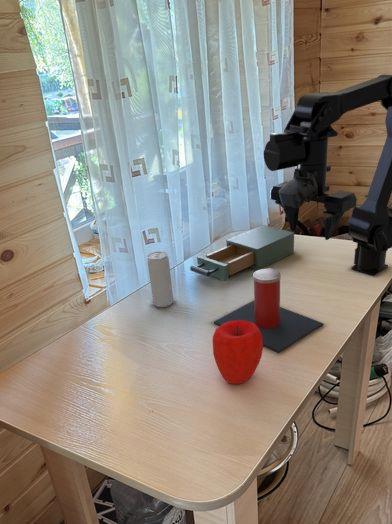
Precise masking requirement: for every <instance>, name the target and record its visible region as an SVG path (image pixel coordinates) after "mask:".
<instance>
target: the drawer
mask: <svg viewBox="0 0 392 524" xmlns="http://www.w3.org/2000/svg"><path fill="white" fill-rule="evenodd" d="M196 260H197V261H196V263H197V265H191V266H190V267H189V270H190V271H191V272H194V273H196V274H199V275H201V276H204V277H207V278H209V277H210V276H212V277H214V278H217V279H219V280H223V281H228V280H229V276H232V275H234V274H236V273H238V272H240V271H243V270H245V269H247V268H250V267H249V266H251V265H253V264H255V251H252V250H249V249H245V248H242V247H239V246H235V245H232V244H231V245H229V246H227V245H226V246H224V247H222V248H219V249H217V250H215V251H212V252H210V253H207V254H206V255H205V256H202V255H198V256H197V257H196Z"/></svg>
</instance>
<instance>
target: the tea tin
mask: <svg viewBox="0 0 392 524" xmlns="http://www.w3.org/2000/svg"><path fill="white" fill-rule="evenodd" d="M252 277H253V301H254V307H255V324H256V325H257V326H258V327H260V328H274V327H276V326H278V325H279V324H280V307H281V277H282V274H281V272H280V271H279V270H277V269H275V268H260V269H258V270H255V272H253V274H252Z"/></svg>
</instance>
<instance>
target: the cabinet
mask: <svg viewBox="0 0 392 524" xmlns="http://www.w3.org/2000/svg"><path fill="white" fill-rule="evenodd" d="M225 242H226V247H227V246H229V245H231V244H232V245H235V246H239V247H242V248H245V249H249V250H252V251H255V264H253V265H251V266H249V267H248V268H251V269H254V270H256V271H258V270H261V269H263V268H264V267H266V266H269V265H270V264H273V263H275V262H277V261H278V260H281V259H284V258H285V257H287V256H289V255H291V254H293V253H295V232H294V231H289V230H285V229H280V228H277V227H273V226H271V225H270V226H269V225H266V224H262V225H259V226H257V227H254V228H252V229H250V230H246V231H244V232H242V233H240V234H238V235H235V236H233V237H230V238H228V239H226V240H225Z"/></svg>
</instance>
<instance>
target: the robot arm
mask: <svg viewBox="0 0 392 524" xmlns="http://www.w3.org/2000/svg"><path fill="white" fill-rule="evenodd" d="M376 102H379V103H380V106H382V108H383V109H384V110H385V111H386V114H385V120H384V124H385V130H386V139H385V142H384V143H383V144H384V145H383V148H382V150H381V154H380V157H379V159H378V162H377V166H376V168H375V171H374V174H373V177H372V181H371V183H370V187H369V189H368V192H367V196H366V198H365V201H364V202H362V204H361V205H360V206H357V195H356V194H355V192H350V191H346V190H345V191H344V190H338V191H336V192H333V193H330V194H329V193H327V192H329V191H330V187H331V186H330V185H327V174H328V172H331V168H332V166H331V165H329V164H328V154H329V138H334V137H335V138H336V137H337V136H338V135H339V133H338V131H337V130H335V129H334V128H333V126H332V125H333V124H334V123H337V122H338V121H340V119H341V118H342V117H343V115H345V114H347V113H349V112H351V111H354V110H357V109H360V108H363V107H366V106H367V105H371V104H374V103H376ZM263 161H264V165H265V166H266V168H267V169H268V170H269V171H271V172H276V171H280V170H285V169H290V168H294V167H297V168H294V171H293V177H292V179H291V180H287V181H283V182H281V183H278V184H275V185H273V186H272V187H271V189H270V191H269V193H270V194H269V196H270V198H269V199H270V200H272V201H274V203H275V205H278V206H280V207H281V208H282V209H283V211H284V214H285V216H286V220H287V222H288V225H289V228H290V232H295V231H296V230H297V227H298V221H299V213H300V208H301V207H302V206H303V204H304V203H310V202H316V203H320V204H323V207H324V208H325V209H324V210H323V211H322V214H323V215H324V217H325V224H324V225H325V226H324V228H325V229H324V239H325V241H328V240H330V239H331V237H332V235H333V234H334V232H335V229H336V227H337V225H338V223H339V222H340V220H341V219H342V217H343V215H344V214H345V213H346V212H348V211H350V210H351V209H352V210H351V215H350V217H349V220H348V221H347V224H348V232H349V234H350V236H351V240H352V242H353V243H356V248H354V260H353V266H351V270H353V271H357V272H360V273H363V274H367V275H370V276H376V275H378V274H379V273H381V272H382V271H384V270H386V269H388V267H389V265H388V264H386V260H387V259H386V258H387V252H388V250H389V249H392V234H391V233H390V232H389V230H388V227H389V223H390V216H389V215H390V214H389V209H388V205H389V202H390V199H391V196H392V74H388V73H387V74H386V73H384V74H380V75H378V76H376V77H375V78H372V79H368V80H366V81H362V82H360V83H357V84H354V85H351V86H348V87H345V88H343V89H339V90H336V91H330V92H315V93H306V94H303V95H301V96H300V97H299V98H298V101H297V103H296V105H295V109H294V110H293V113H292V114H291V116H290V118H289V120H288V122H287V124H286V125H285V127H284V129H283V132H279V133H276V132H274V133H270V134H269V141H267V142H266V144H265V147H264V150H263Z"/></svg>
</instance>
